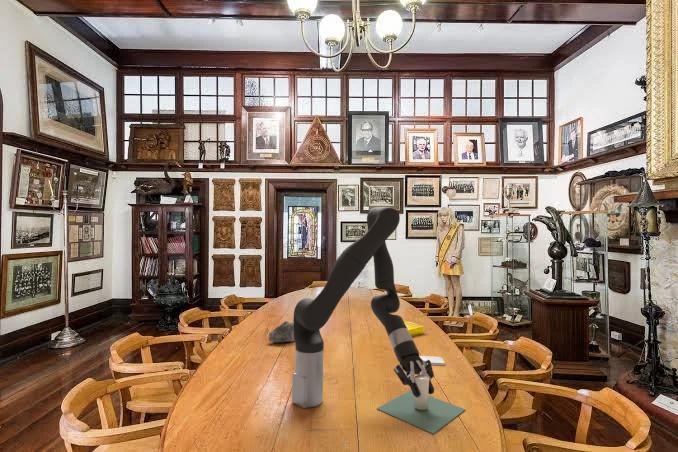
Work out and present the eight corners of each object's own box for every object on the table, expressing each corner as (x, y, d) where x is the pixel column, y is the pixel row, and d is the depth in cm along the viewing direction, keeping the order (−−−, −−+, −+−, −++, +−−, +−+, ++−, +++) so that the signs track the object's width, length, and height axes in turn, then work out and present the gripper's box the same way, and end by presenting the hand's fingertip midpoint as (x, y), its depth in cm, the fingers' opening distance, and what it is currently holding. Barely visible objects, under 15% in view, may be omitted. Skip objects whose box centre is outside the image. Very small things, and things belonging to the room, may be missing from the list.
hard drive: (441, 356, 166) (412, 355, 167) (445, 362, 158) (415, 361, 159) (441, 360, 166) (412, 358, 167) (445, 366, 158) (415, 365, 159)
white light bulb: (423, 411, 116) (424, 382, 116) (411, 406, 119) (411, 377, 119) (430, 406, 119) (431, 378, 119) (418, 401, 122) (419, 374, 122)
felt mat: (433, 434, 105) (433, 433, 105) (376, 409, 119) (376, 408, 119) (465, 410, 119) (465, 409, 119) (411, 390, 133) (411, 389, 133)
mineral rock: (267, 344, 181) (268, 323, 181) (272, 337, 192) (272, 318, 192) (294, 345, 181) (294, 324, 181) (297, 338, 192) (297, 318, 192)
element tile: (425, 334, 206) (425, 325, 206) (406, 338, 197) (406, 329, 197) (405, 327, 218) (405, 319, 218) (386, 331, 209) (386, 322, 209)
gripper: (390, 341, 123) (412, 394, 112) (425, 337, 129) (449, 385, 118) (381, 353, 127) (401, 404, 116) (415, 347, 134) (437, 395, 123)
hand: (425, 394), depth 117 cm, fingers open, 4 cm apart
